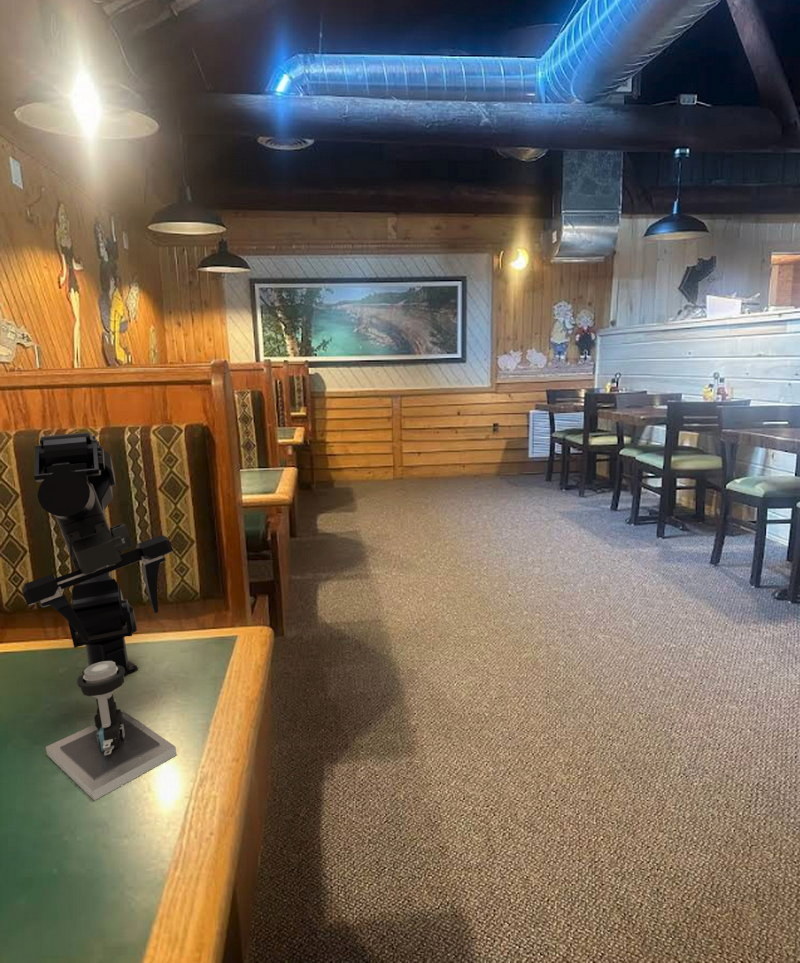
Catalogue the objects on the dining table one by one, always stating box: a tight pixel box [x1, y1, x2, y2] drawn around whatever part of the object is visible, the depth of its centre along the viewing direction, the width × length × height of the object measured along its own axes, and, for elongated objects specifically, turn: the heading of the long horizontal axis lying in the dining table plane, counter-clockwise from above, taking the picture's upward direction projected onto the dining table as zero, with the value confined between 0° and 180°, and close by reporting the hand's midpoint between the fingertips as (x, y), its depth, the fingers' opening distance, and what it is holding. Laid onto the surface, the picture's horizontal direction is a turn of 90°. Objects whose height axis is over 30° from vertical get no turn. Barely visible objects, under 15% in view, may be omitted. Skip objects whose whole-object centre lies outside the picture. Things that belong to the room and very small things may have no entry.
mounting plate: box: [45, 710, 177, 801], centre depth 76 cm, size 14×10×1 cm
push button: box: [76, 661, 126, 755], centre depth 75 cm, size 7×5×10 cm
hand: (123, 626), depth 83 cm, fingers open, 9 cm apart
